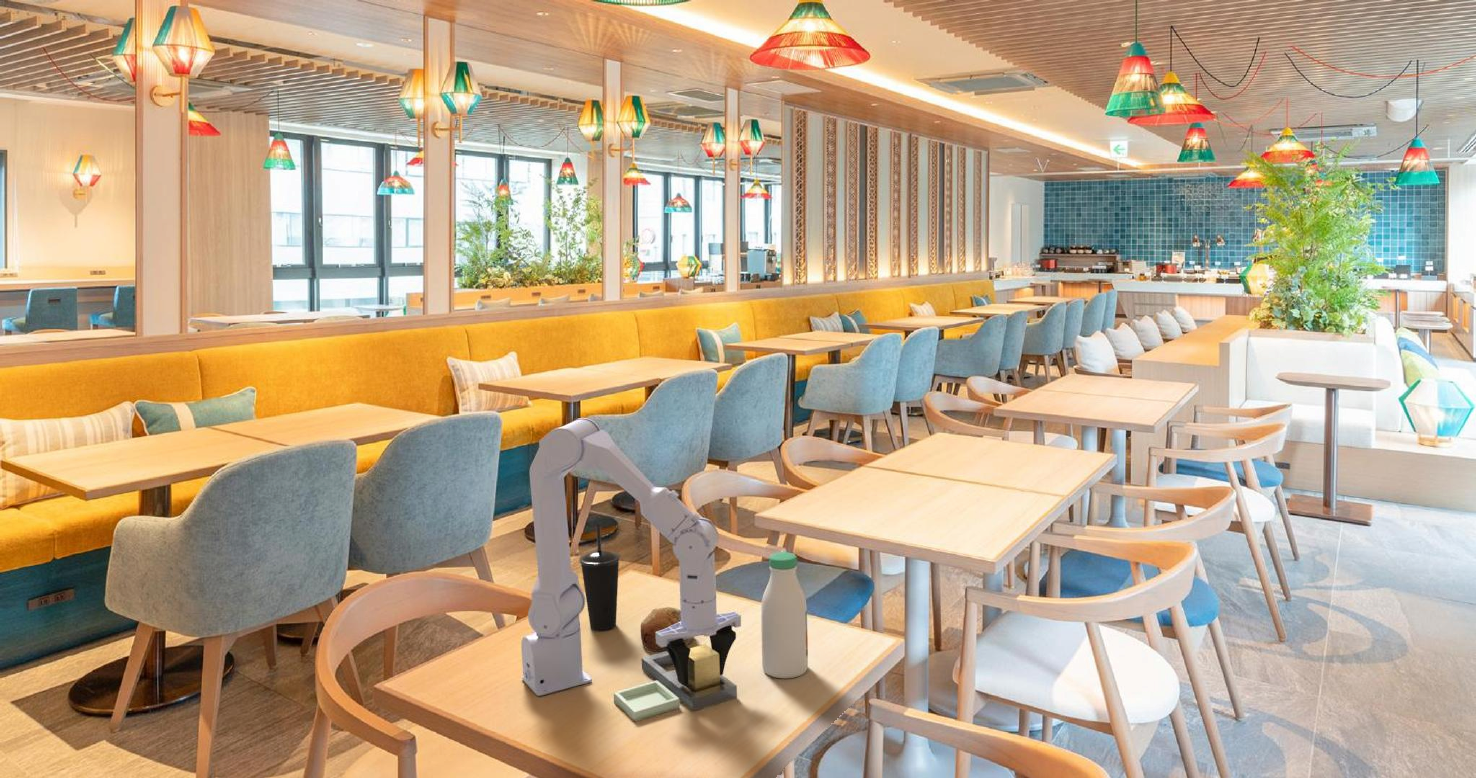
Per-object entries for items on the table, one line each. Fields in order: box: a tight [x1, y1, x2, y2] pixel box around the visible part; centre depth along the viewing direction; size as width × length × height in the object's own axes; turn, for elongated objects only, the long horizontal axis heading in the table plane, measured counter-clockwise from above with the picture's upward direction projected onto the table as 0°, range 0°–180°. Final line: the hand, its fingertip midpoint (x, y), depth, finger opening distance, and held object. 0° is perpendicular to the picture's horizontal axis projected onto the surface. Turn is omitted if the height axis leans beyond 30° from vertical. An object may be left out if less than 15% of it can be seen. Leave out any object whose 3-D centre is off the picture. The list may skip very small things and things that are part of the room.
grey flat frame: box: [641, 651, 738, 712], centre depth 156 cm, size 8×18×2 cm, turn 31°
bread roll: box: [640, 606, 695, 652], centre depth 173 cm, size 10×10×8 cm
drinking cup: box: [578, 523, 621, 632], centre depth 179 cm, size 8×8×20 cm
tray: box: [613, 680, 681, 722], centre depth 149 cm, size 8×8×2 cm
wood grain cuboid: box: [686, 644, 720, 693], centre depth 152 cm, size 4×4×7 cm
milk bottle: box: [760, 551, 809, 679], centre depth 159 cm, size 8×8×20 cm
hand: (700, 677), depth 152 cm, fingers open, 6 cm apart
